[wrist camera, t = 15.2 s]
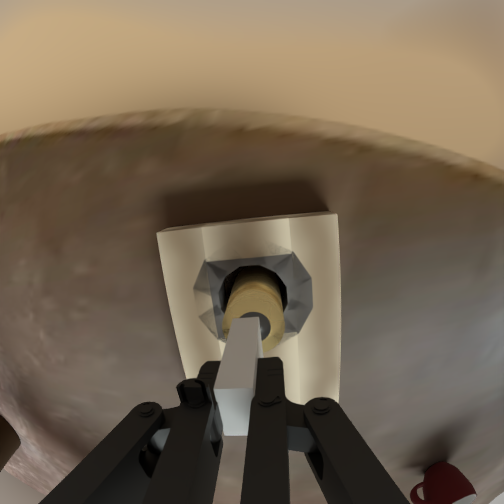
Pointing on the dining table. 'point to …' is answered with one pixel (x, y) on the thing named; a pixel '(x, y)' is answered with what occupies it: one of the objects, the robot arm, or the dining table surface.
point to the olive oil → (7, 442)
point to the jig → (293, 302)
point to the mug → (444, 486)
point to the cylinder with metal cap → (257, 304)
